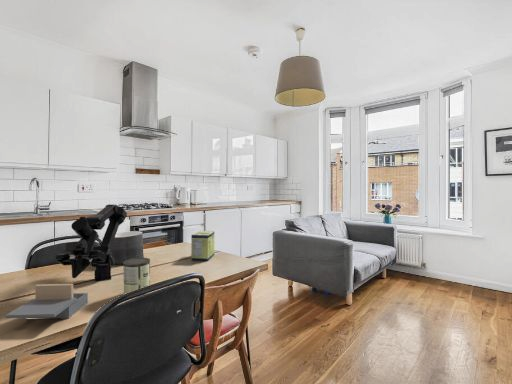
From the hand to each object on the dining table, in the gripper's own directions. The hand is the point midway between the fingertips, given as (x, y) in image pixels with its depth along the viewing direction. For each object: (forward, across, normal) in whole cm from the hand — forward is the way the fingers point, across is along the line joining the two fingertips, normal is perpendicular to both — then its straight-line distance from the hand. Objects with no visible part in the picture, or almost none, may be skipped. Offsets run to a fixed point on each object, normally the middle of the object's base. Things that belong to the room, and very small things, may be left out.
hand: (73, 277), depth 109 cm
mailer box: (+13, 0, -2) cm, 13 cm away
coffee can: (+4, +20, +13) cm, 25 cm away
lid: (+15, +2, -10) cm, 18 cm away
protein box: (-32, +33, +60) cm, 75 cm away
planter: (-29, -9, +47) cm, 56 cm away
